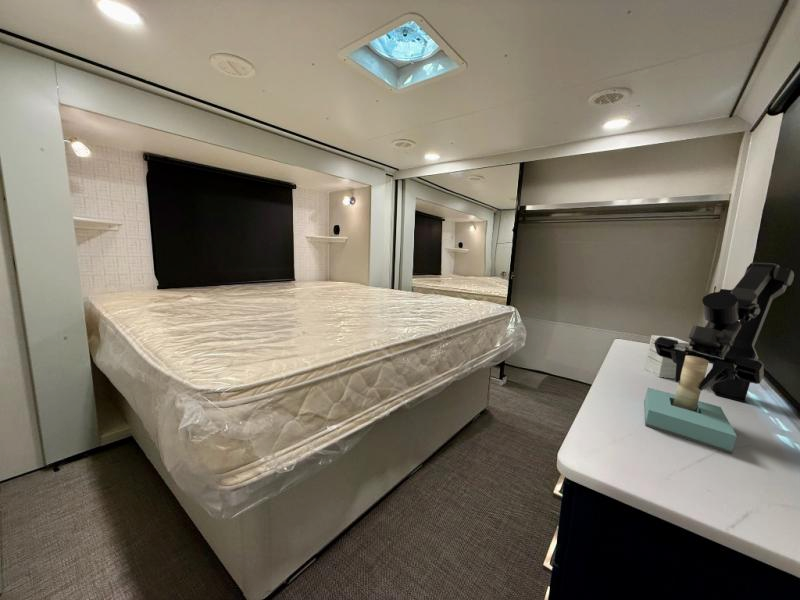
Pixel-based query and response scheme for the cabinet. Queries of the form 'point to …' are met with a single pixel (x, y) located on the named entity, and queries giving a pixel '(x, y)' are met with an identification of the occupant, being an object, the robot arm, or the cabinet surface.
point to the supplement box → (661, 360)
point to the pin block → (689, 421)
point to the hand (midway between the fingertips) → (688, 385)
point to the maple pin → (690, 382)
